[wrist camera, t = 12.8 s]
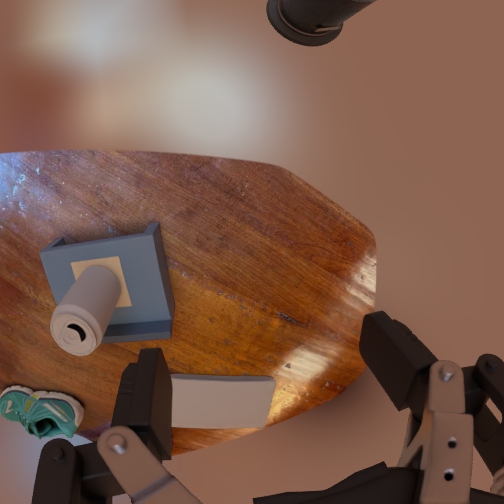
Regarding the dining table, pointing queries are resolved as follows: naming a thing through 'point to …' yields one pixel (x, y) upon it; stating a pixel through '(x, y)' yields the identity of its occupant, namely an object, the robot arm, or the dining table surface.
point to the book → (221, 401)
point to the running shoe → (42, 411)
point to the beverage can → (86, 311)
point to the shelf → (120, 281)
